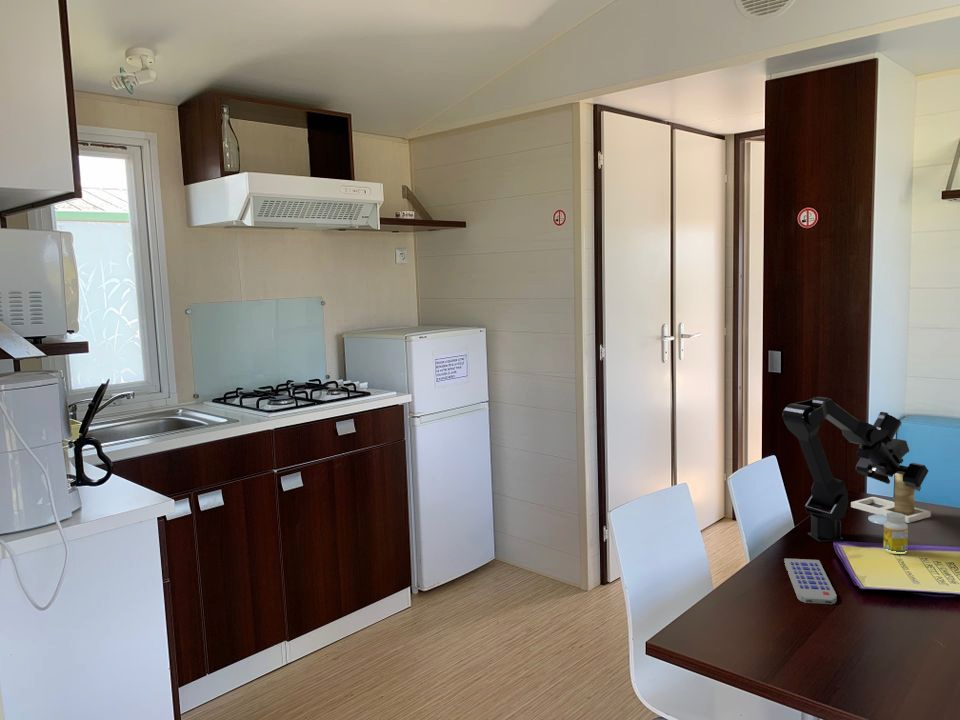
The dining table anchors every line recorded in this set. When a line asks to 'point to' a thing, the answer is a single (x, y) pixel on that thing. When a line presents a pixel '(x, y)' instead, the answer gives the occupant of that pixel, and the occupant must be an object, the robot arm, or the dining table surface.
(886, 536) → the supplement bottle
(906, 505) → the plug
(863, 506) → the holder
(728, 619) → the dining table surface
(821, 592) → the remote control
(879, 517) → the coaster
